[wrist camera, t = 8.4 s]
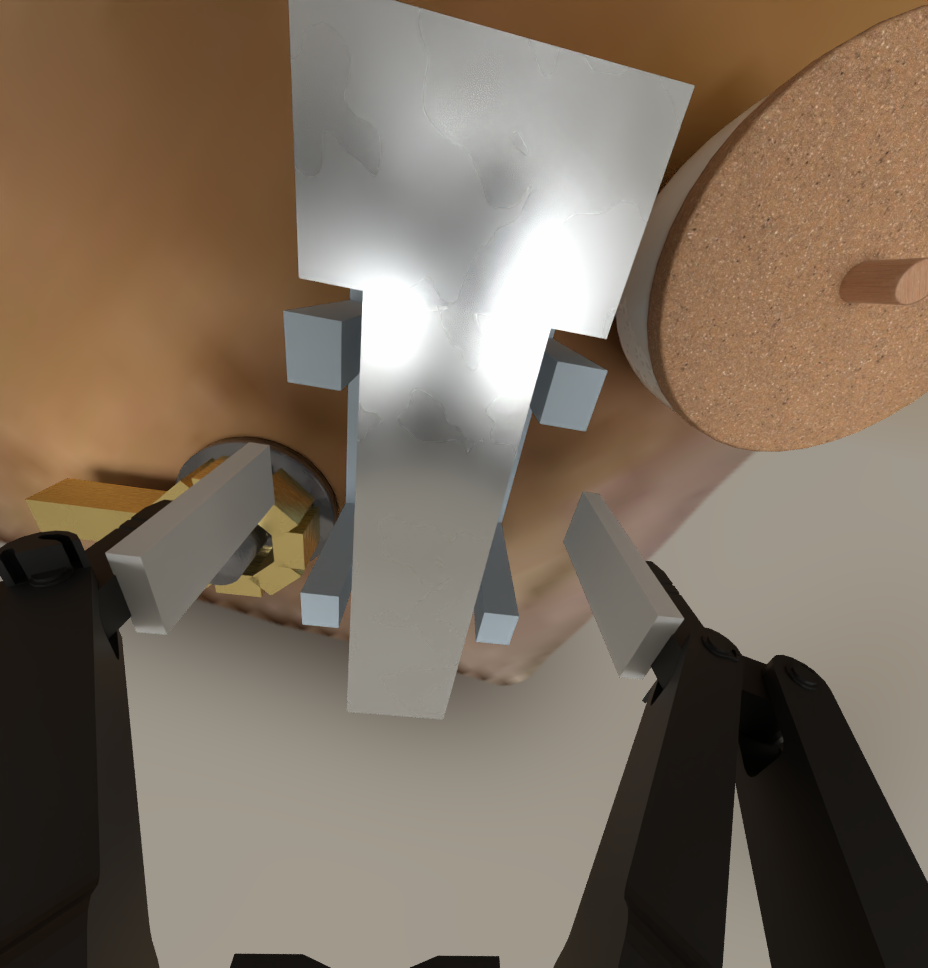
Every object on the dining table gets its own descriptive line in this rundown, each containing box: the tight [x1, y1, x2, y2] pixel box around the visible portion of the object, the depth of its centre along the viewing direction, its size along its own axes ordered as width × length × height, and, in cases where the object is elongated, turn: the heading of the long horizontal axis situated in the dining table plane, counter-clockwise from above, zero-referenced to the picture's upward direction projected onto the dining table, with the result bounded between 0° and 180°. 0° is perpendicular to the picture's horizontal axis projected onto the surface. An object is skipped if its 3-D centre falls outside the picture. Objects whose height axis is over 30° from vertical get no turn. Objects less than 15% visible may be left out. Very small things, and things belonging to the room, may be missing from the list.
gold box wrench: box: [25, 455, 320, 597], centre depth 20 cm, size 13×8×3 cm, turn 80°
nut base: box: [176, 437, 338, 585], centre depth 20 cm, size 9×9×6 cm
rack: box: [283, 288, 607, 645], centre depth 17 cm, size 15×10×8 cm, turn 170°
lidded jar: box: [616, 5, 928, 451], centre depth 13 cm, size 11×11×9 cm
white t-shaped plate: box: [289, 0, 695, 719], centre depth 13 cm, size 21×7×5 cm, turn 170°
